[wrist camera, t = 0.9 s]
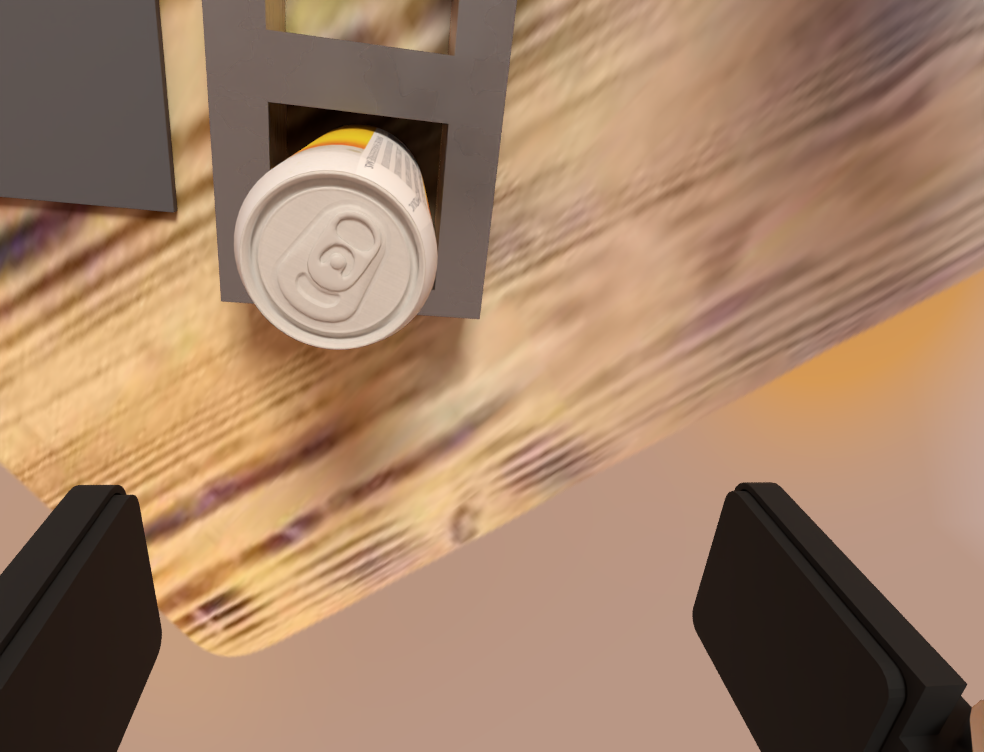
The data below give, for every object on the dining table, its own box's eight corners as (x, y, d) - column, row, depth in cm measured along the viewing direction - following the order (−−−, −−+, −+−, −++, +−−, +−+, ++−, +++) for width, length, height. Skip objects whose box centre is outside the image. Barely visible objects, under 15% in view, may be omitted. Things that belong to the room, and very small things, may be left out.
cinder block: (220, -223, 24) (183, -283, 20) (519, -162, 26) (541, -206, 22) (243, 274, 32) (221, 301, 28) (470, 291, 34) (479, 319, 30)
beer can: (278, 200, 31) (184, 290, 18) (344, 95, 30) (295, 105, 16) (380, 269, 33) (366, 395, 20) (447, 175, 32) (480, 243, 18)
